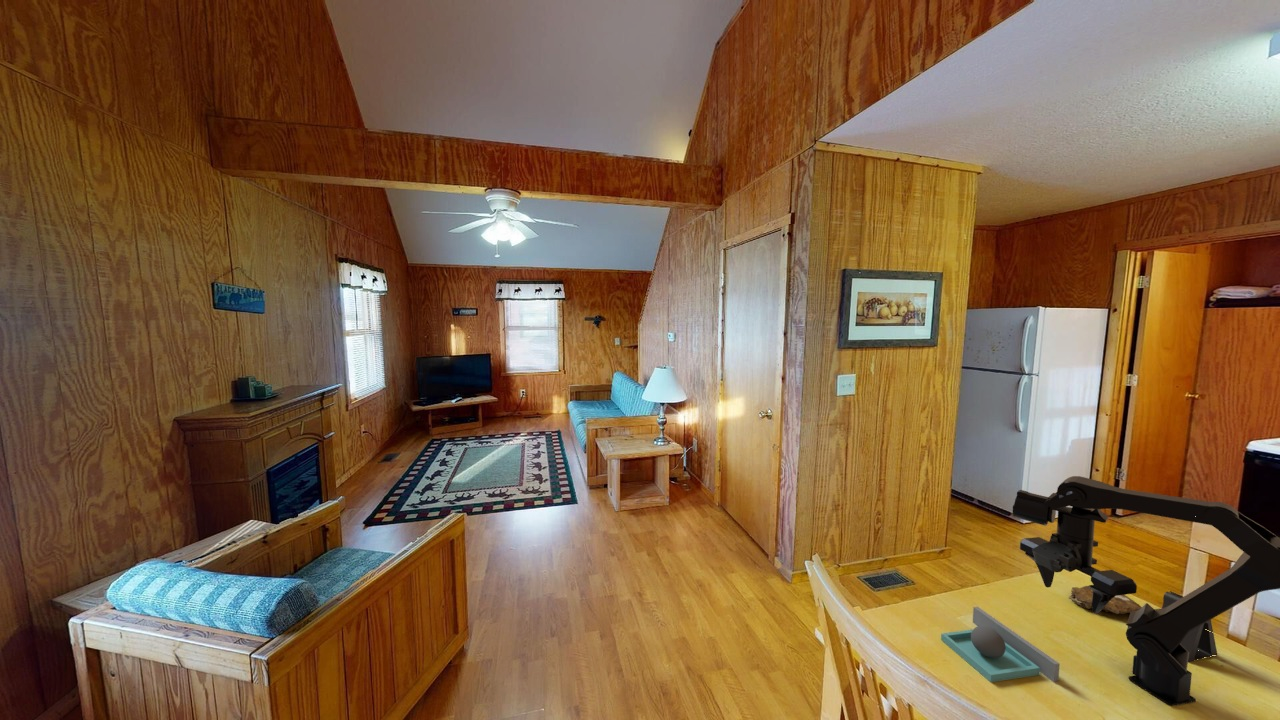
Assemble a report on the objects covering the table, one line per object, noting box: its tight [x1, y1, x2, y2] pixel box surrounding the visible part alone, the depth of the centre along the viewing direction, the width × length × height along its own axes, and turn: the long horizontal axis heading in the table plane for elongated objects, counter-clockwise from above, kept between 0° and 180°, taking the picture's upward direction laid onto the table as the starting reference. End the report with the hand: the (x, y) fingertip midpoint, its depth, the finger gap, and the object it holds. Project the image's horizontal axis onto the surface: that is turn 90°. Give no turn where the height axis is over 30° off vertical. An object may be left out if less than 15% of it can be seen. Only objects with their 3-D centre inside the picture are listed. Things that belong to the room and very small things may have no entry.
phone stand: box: [1161, 590, 1218, 663], centre depth 94 cm, size 9×6×12 cm, turn 100°
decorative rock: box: [1068, 585, 1143, 615], centre depth 109 cm, size 11×4×15 cm
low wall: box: [972, 606, 1061, 683], centre depth 95 cm, size 18×1×4 cm, turn 8°
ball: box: [971, 626, 1006, 658], centre depth 93 cm, size 6×6×6 cm
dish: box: [940, 628, 1040, 683], centre depth 93 cm, size 12×12×2 cm
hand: (1070, 599), depth 94 cm, fingers open, 9 cm apart
